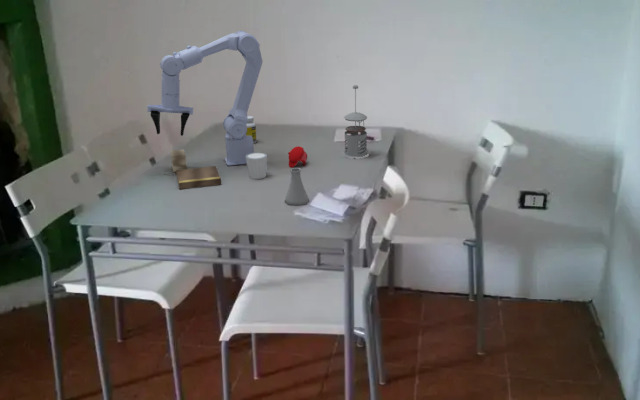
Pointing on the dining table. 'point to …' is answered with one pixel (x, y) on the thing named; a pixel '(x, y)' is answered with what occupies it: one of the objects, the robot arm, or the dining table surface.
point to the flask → (296, 189)
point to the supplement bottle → (251, 128)
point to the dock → (198, 177)
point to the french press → (355, 134)
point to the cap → (297, 156)
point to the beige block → (178, 160)
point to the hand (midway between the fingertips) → (170, 134)
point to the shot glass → (256, 165)
